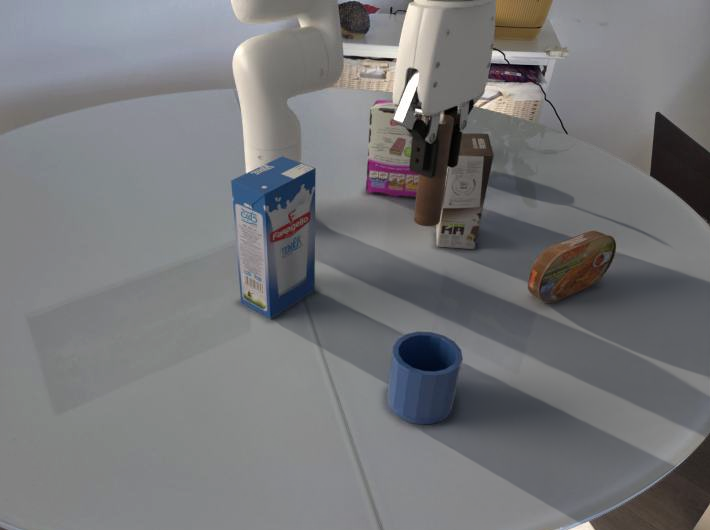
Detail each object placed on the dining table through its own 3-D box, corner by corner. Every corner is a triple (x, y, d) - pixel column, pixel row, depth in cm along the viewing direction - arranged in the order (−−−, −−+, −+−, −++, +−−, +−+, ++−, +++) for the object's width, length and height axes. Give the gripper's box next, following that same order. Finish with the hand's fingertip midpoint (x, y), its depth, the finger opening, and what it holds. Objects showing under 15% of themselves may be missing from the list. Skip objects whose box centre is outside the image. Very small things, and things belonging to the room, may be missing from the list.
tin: (534, 310, 91) (548, 261, 86) (518, 300, 94) (530, 250, 88) (608, 279, 96) (626, 230, 91) (590, 270, 98) (607, 221, 93)
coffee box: (476, 249, 105) (494, 156, 94) (435, 247, 106) (449, 154, 96) (472, 222, 111) (489, 132, 101) (434, 220, 113) (448, 131, 102)
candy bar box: (428, 189, 122) (439, 102, 112) (423, 200, 119) (434, 112, 108) (370, 182, 126) (376, 97, 115) (364, 193, 122) (369, 107, 112)
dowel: (408, 220, 75) (419, 119, 68) (425, 211, 77) (437, 111, 69) (428, 229, 73) (441, 126, 66) (445, 220, 75) (460, 118, 67)
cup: (374, 399, 80) (378, 350, 74) (416, 371, 83) (423, 323, 78) (422, 434, 75) (430, 385, 70) (465, 404, 78) (476, 354, 73)
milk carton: (285, 275, 102) (282, 156, 89) (314, 290, 98) (316, 167, 86) (240, 303, 97) (230, 180, 84) (269, 319, 93) (263, 194, 80)
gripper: (477, -36, 65) (453, 139, 77) (365, -8, 58) (356, 181, 70) (543, -29, 61) (506, 156, 72) (430, 3, 53) (409, 203, 65)
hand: (433, 167), depth 71 cm, fingers closed on dowel, 3 cm apart
